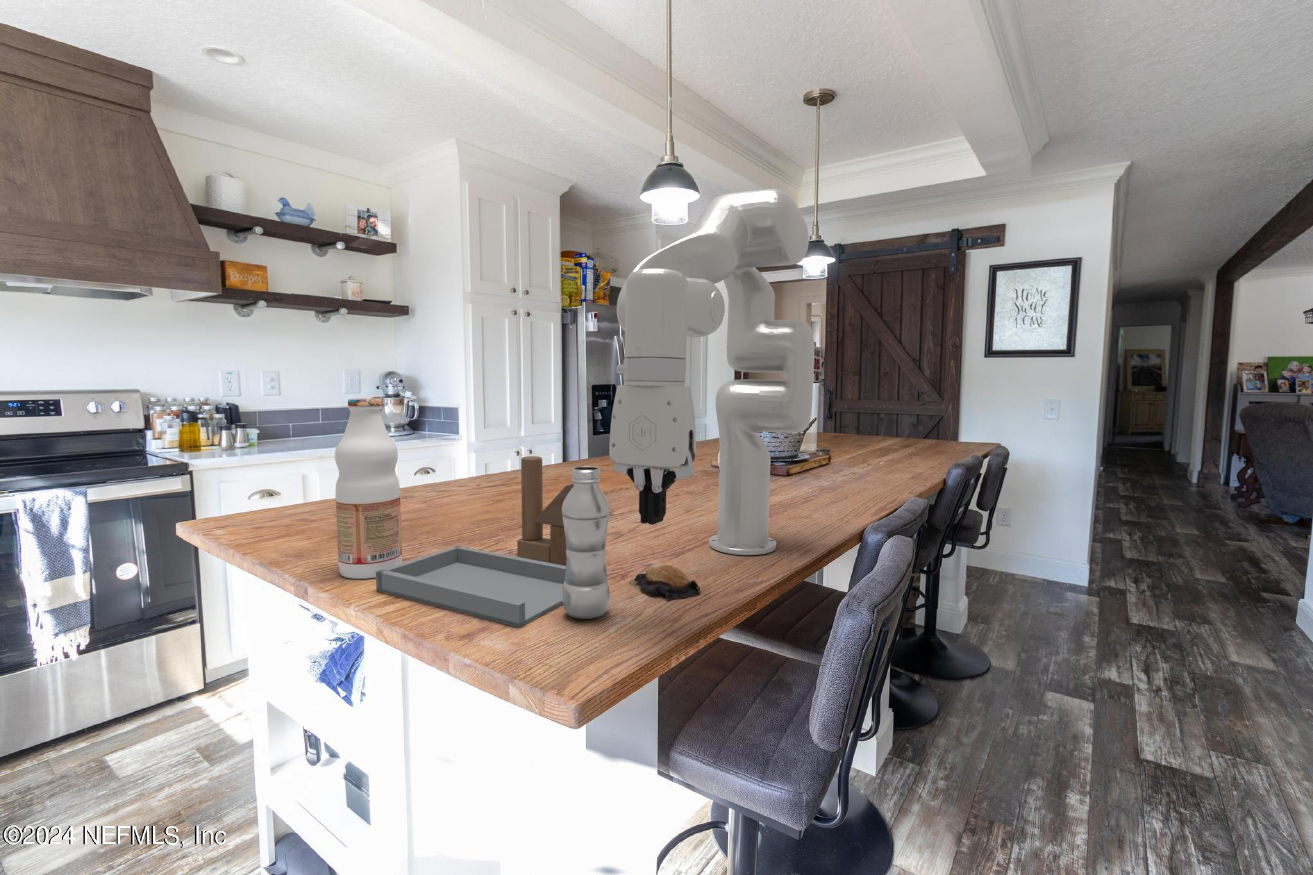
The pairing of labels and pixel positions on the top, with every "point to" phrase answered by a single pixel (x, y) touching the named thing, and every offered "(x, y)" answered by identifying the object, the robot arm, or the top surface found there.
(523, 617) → the tray
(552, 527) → the toy block structure
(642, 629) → the top surface
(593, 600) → the plastic bottle
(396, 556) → the fruit juice
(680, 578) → the bread roll
